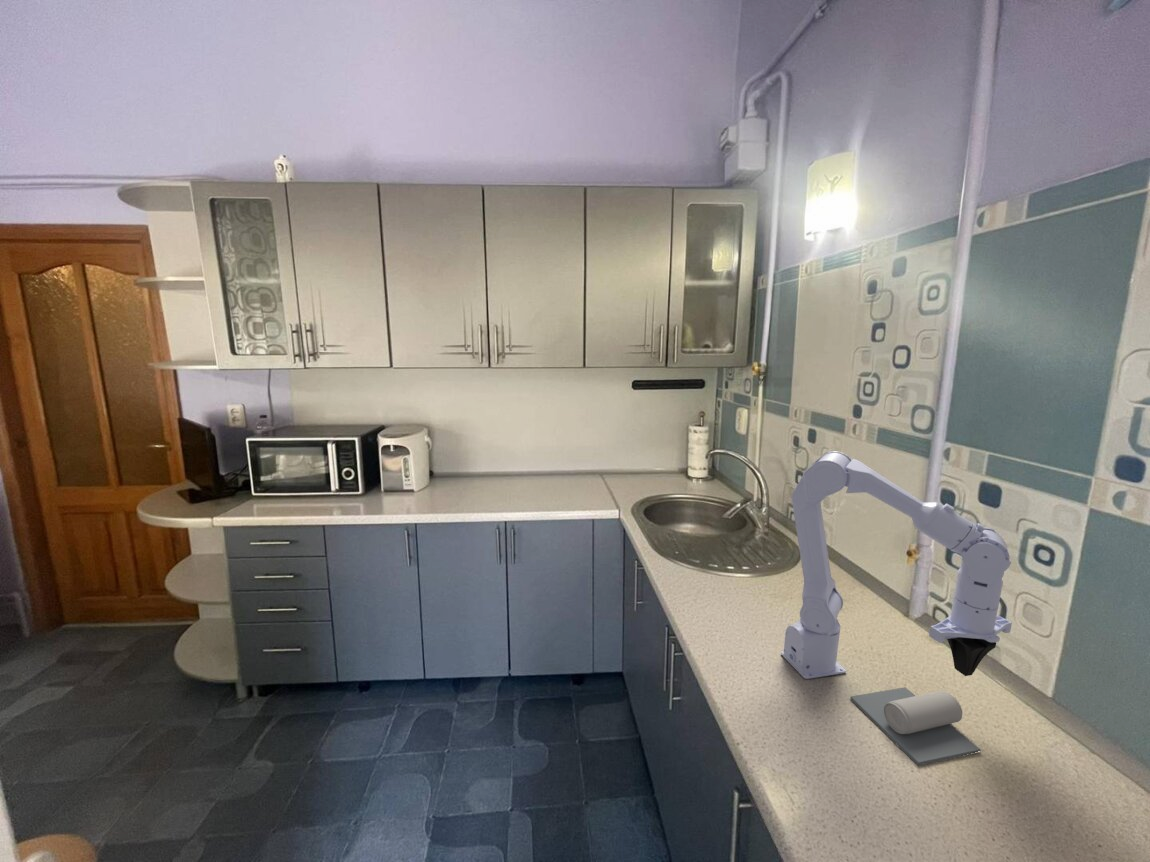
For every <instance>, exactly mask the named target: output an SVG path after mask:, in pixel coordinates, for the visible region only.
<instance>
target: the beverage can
mask: <svg viewBox="0 0 1150 862" xmlns="http://www.w3.org/2000/svg"><path fill="white" fill-rule="evenodd" d="M884 716H885V718H886V721H887V722H888V724H889V725H890V727H891V728H892V729H893V730H894V731H896V732H897V733H900V734H910V733H914V732H918V731H922V730H927V729H931V728H935V727H939V726H943V725H947V724H951V725H952V724H955V723H959V722H960V721H961V720H962V719H963V709H962V706H961V704H960V702H959V701H958V699H957V698H956V697H955V696H954V695H953V694H951V693H950V692H947V691H945V690H936V691H932V692H928V693H923V694H918V695H915V696H913V697H909V698H904V699H900V700H895V701H891V702H889V703H887V704H885V706H884Z"/></svg>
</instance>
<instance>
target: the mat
mask: <svg viewBox="0 0 1150 862" xmlns="http://www.w3.org/2000/svg"><path fill="white" fill-rule="evenodd" d="M913 696H916V694H914V693H913V692H912V691H910V689H908V688H907V687H904V686H903V687H899V688H892V689H887V690H882V691H881V690H880V691H874V692H870V693H864V694H863V693H862V694H857V695H853V696H850V701H851V702H852V703H853V704H854V705H855V706H857V708H859V709H860V710H861V712H862V713H864V715H866V716H867V718H869V720H870V721H872V722H873V723H874V724H875V726H877V727H878V729H880V730H881V731H882V732H883V733H884V734H885V735H886V736H887V737H888V738H890V740H891V741H892V742H893V743H894V744H895V745H896V746H898V747H899V749H900V750H901V751H902V752H904V753H905V754H906V755H907V756H908V757H909V759H910V760H912V761H913V763H915V764H916V765H917V766H922V765H927V764H931V763H936V762H941V761H945V760H950V759H955V758H954V757H956V758H959V756H961V757H964V756H963V755H966V756H968V755H967V754H970V755H972V754H971V753H975V752H978V751H980V752H981V751H982V750H981V748H980V747H978V745H976V744H975V743H974V742H973V741H971V740H970V739H969V738H968V737H966V736H965V734H963V733H962V732H960V731H959V730H958V729H956V727H954V726H953V725H952V723H951V724H947V725H943V726H939V727H935V728H931V729H927V730H922V731H918V732H914V733H910V734H900V733H897V732H896V731H894V730H893V729H892V728H891V727H890V725H889V724H888V722H887V721H886V718H885V716H884V706H885V704H887V703H889V702H891V701H895V700H900V699H904V698H909V697H913ZM975 754H976V753H975Z"/></svg>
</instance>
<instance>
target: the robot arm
mask: <svg viewBox="0 0 1150 862" xmlns="http://www.w3.org/2000/svg"><path fill="white" fill-rule="evenodd" d="M845 487H847V489H846V492H845V493H846V494H857V493H862V494H863V493H864V494H865V493H866V494H868V495H870V496H871V497H874V498H876V499H878V500H879V501H881V502H883V503H885V504H887V505H888V506H890V507H892V508H893V509H896V510H897V511H899V512H901V513H902V514H905V515H906V516H908V517H909V518H911V519H912V524H913V527H914V529H916V530H917V531H919V532H920V533H922V534H924V535H925V536H927V537H929V538H930V539H932V540H934V541H935V542H937V543H938V544H940V545H942V546H943V547H945V548H946V549H948V550H950V551H951V552H953V553H957V554H958V555H960V556H961V562H960V567H959V568H958V570H957V575H956V582H955V588H954V593H953V599H952V604H951V609H950V615H948V617H946V618H944V619H943V620H941V621H939V622H938V623H937V624H934V625H930V626H929V633H928V637H930V638H931V639H933V640H935V641H936V642H938V644H940V643H941V644H942V643H945V641H946V640H947V643H948V645H949V648H950V650H951V655H952V661H953V666H954V669H955V671H957V672H958V673H960V674H962V676H965V677H969V676H973V674H974V673H975V671H976V670H977V667H978V666H979V665H980V663H981V662H982V660H983V659H984V658H985V656H986V655H987V654H989V653H990V652H991V651H992V650H994V649H995V648H997V647H996V646H997V643H998V642H1000V636H999V634H1000V633H1001V632H1003V633H1005V634H1009V633H1011V630H1012V624H1013V622H1012V621H1009V620H1008V619H1006V618H1004V617H1003V616H1001V615H1000V616H997V615H998V610H999V605H1000V599H1001V595H1002V589H1003V584H1004V581H1003V577H1004V574H1005V572H1006V571H1007V570H1008V569H1009V567H1010V566H1011V564H1012V561H1010V553H1009V549H1008V546H1007V544H1006V541H1005V540H1004V538H1003V537H1002V536H1001V535H1000V534H999V533H998V532H996V531H995V529H993V528H991V527H985V525H983V524H981V523H979V522H978V523H976V524H975V522H972V521H971V520H968V519H967V518H965V517H963V516H962V515H960V514H958V513H957V512H955V509H954V508H955V507H954V506H952V505H950V504H948V503H945V504H944V505H943V504H941V503H939V502H937V501H929V502H924V501H922V500H920V499H919V498H917V497H915V496H914V495H913V494H911V493H910V492H908V491H906V490H905V489H903V488H902V487H900V486H899V485H897V484H895V483H894V482H893V481H891V480H889V479H888V478H886V477H884V476H883V475H881V474H880V473H879V472H877V471H875V470H873V469H872V468H870V467H869V466H867V465H866V464H865V463H863V462H861V461H860V460H858V459H856V458H851V457H850V456H849V455H847V454H846V453H844V452H841V451H837V450H836V451H829V452H826V453H824V454H822V456H821V457H819V458H818V459H816V461H814V462H813V463H812V464H811V466H809V468H807V469H806V470H805V471H803V473H802V476H801V478H800V479H799V482H798V483H797V485H796V486H795V488H794V490H793V492H792V494H791V502H792V509H793V515H794V516H793V517H794V523H795V530H796V537H797V543H798V548H799V555H800V562H801V568H802V575H803V576H802V577H803V585H802V586H803V587H802V592H801V593H802V594H801V597H802V606H801V608H800V610H799V620H798V621H797V622H795V623H794V624H790V625H789V626H787V628H786V630H785V634H784V645H783V646H784V647H783V650H782V651H781V652H780V654H781V655H782V656H783V658H784V659H785V660H786V661H787V662H788V663H789V664H790V665H791V666H792V667H793V668H794V669H795V670H796V671H797V672H798V674H799V675H801V677H803V679H804V680H805V679H806V680H809V679H816V678H821V677H822V678H823V677H827V676H834V675H840V674H846V673H847V670H846V669H845V668H844V667H843V666H842V665H841V664H840V663H839V662H838V661H837V659H838V658H837V657H838V652H839V651H838V650H839V644H840V643H839V642H840V635H841V634H840V633H841V625H840V622H839V620H838V617H839V613H840V612H841V610H842V609H843V606H844V599H843V597H842V594H841V593H840V592H839V591H838V589H837V586H836V582H835V579H834V578H833V577H832V573H831V567H830V566H831V565H830V559H829V551H828V545H827V537H826V532H825V531H826V530H825V525H824V518H823V511H822V504H821V502H822V501H823V500H825V499H826V498H827V497H828V496H831V495H834V494H836V493H838V492H841V490H843V489H844V488H845Z"/></svg>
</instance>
